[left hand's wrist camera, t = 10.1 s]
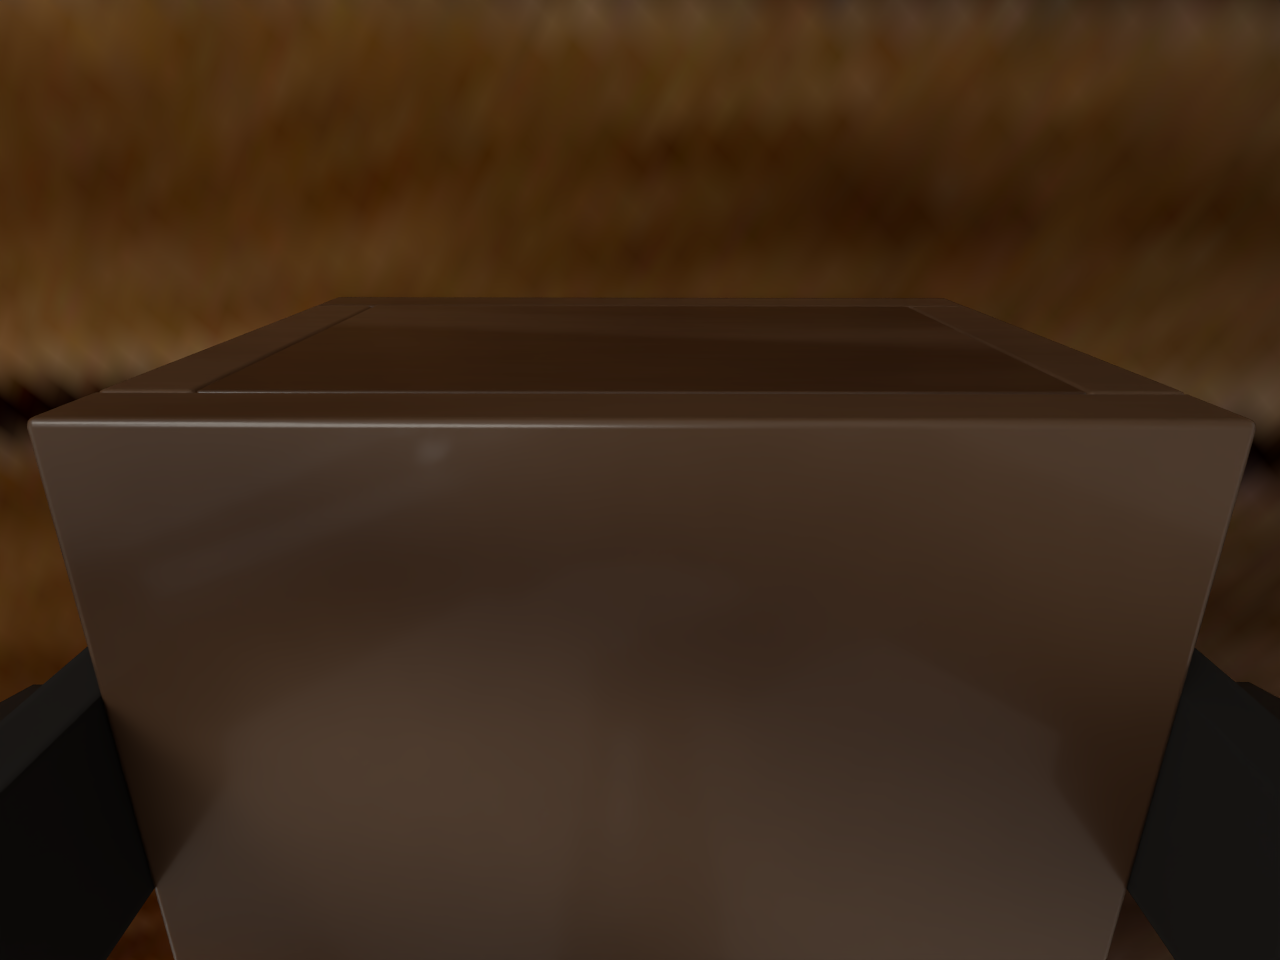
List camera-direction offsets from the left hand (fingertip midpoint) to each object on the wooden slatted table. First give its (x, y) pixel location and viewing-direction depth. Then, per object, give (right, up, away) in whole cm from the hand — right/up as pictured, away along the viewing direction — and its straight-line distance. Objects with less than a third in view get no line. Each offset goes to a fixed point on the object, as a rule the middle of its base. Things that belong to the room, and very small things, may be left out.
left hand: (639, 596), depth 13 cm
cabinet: (0, -4, +5) cm, 7 cm away
